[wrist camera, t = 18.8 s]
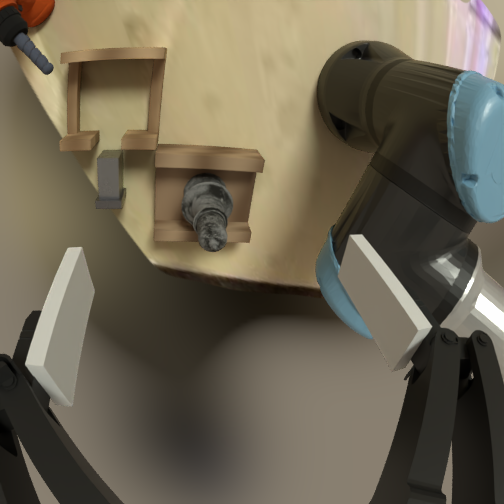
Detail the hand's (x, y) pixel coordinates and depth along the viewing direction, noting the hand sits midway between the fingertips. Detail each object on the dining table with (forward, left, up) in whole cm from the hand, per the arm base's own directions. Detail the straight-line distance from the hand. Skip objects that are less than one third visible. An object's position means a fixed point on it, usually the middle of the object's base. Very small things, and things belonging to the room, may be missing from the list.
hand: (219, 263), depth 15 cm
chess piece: (-2, +7, -24) cm, 25 cm away
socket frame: (+10, -5, -25) cm, 27 cm away
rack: (-2, +7, -25) cm, 26 cm away
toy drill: (+19, -15, -25) cm, 35 cm away
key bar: (+10, +5, -25) cm, 27 cm away
